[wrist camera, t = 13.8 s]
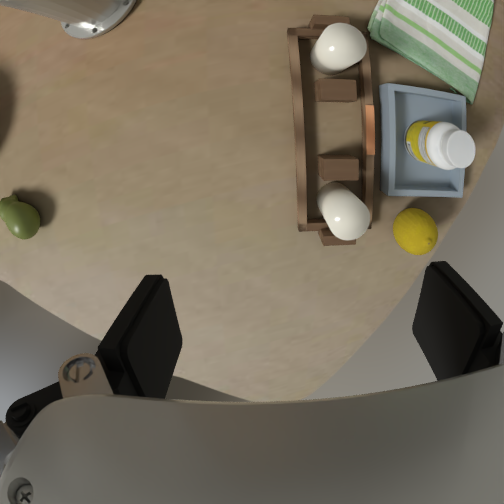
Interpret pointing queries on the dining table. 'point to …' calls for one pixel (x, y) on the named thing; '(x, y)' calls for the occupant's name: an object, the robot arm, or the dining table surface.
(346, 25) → the cylinder
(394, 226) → the lemon
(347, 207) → the cartridge
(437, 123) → the supplement bottle
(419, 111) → the tray
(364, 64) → the clip rack
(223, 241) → the dining table surface
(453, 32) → the dish towel
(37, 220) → the pear
